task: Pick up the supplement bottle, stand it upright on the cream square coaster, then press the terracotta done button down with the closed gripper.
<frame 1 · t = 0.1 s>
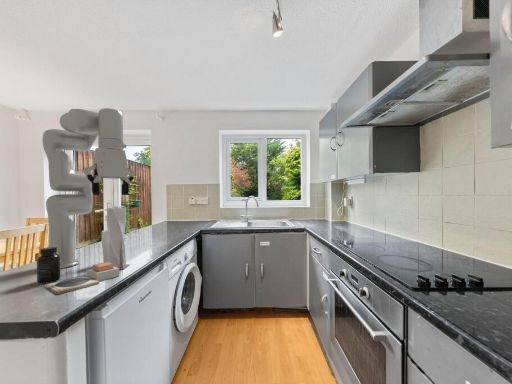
hand: (111, 194, 92), 31 cm above the worktop, tool pointing down, fingers open, 9 cm apart
drinking glass: (110, 263, 121), on the worktop
button housing: (103, 276, 100), on the worktop
supplement bottle: (48, 281, 96), on the worktop
done button: (103, 266, 100), point 4 cm above the worktop, slide at 0.0 cm
skyscraper: (116, 268, 113), on the worktop
cream square coaster: (72, 285, 91), on the worktop
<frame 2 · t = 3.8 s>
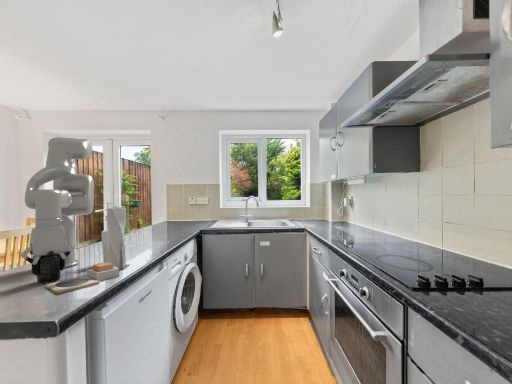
hand: (48, 271, 96), 3 cm above the worktop, tool pointing down, fingers closed on supplement bottle, 6 cm apart
supplement bottle: (48, 281, 96), on the worktop, touching gripper
everything else where it was.
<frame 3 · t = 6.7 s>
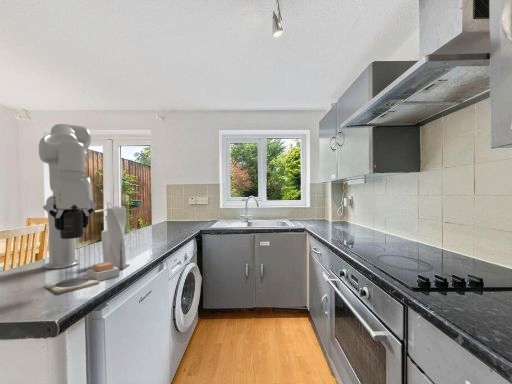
hand: (71, 228, 91), 20 cm above the worktop, tool pointing down, fingers closed on supplement bottle, 6 cm apart
supplement bottle: (72, 238, 91), point 16 cm above the worktop, touching gripper
everything else where it was.
when the fingers open (6 cm above the worktop, at t = 9.9 s): supplement bottle drops 1 cm, resting on cream square coaster.
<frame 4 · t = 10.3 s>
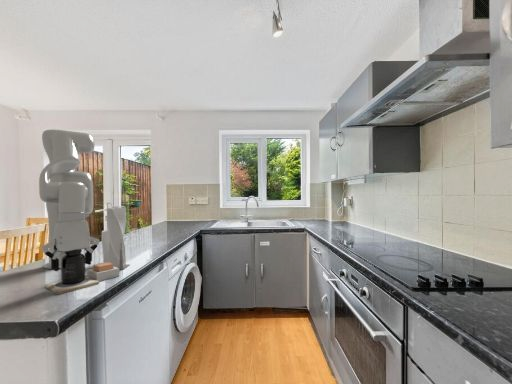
hand: (72, 267, 91), 6 cm above the worktop, tool pointing down, fingers open, 9 cm apart
supplement bottle: (73, 282, 92), point 1 cm above the worktop, touching cream square coaster
everything else where it was.
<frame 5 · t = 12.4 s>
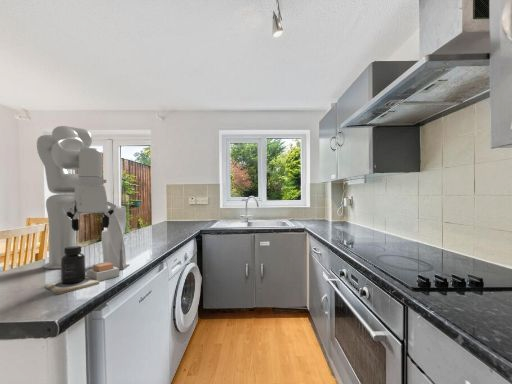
hand: (91, 229, 96), 19 cm above the worktop, tool pointing down, fingers open, 9 cm apart
nothing on the worktop moved.
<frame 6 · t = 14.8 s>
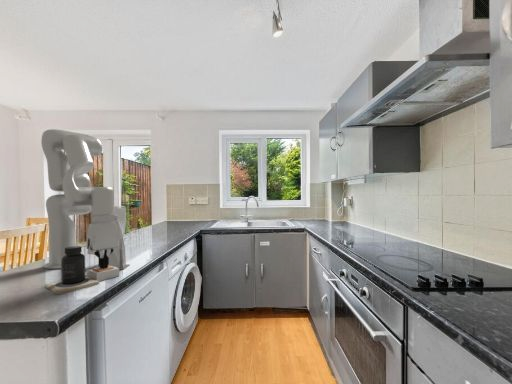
hand: (103, 267, 100), 4 cm above the worktop, tool pointing down, fingers closed
done button: (103, 270, 100), point 3 cm above the worktop, slide at 1.3 cm
everything else where it was.
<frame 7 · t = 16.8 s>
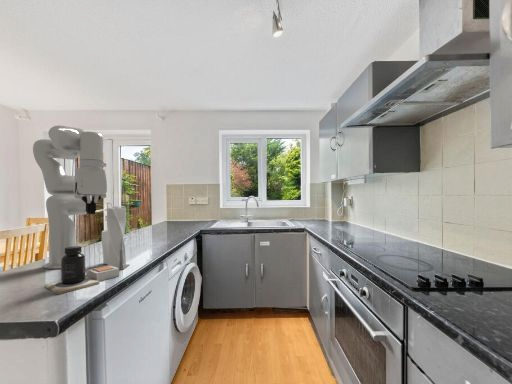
hand: (90, 213, 100), 24 cm above the worktop, tool pointing down, fingers closed
nothing on the worktop moved.
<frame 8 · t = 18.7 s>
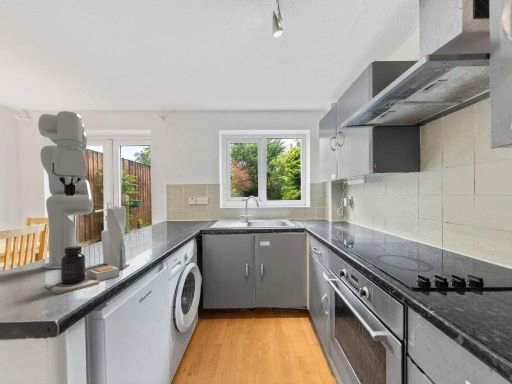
hand: (69, 195, 98), 31 cm above the worktop, tool pointing down, fingers closed
nothing on the worktop moved.
at the end: supplement bottle inside the target area on the cream square coaster (0.4 cm from its centre), point 0.9 cm above the cream square coaster's base; supplement bottle tilted 0°; done button slide at 1.5 cm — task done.
